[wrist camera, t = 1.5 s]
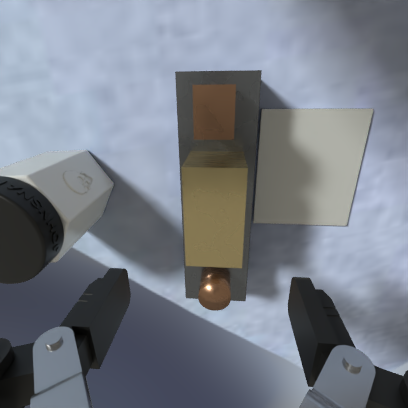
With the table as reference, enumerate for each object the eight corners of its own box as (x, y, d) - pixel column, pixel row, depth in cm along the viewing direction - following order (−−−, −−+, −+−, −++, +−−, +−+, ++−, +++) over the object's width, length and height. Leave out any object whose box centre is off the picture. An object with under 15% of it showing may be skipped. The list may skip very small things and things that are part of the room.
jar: (129, 198, 30) (72, 260, 19) (79, 230, 32) (3, 303, 21) (74, 130, 27) (-28, 157, 16) (24, 170, 30) (-95, 218, 19)
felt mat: (261, 109, 25) (261, 109, 25) (371, 108, 24) (373, 108, 24) (253, 221, 30) (253, 223, 30) (344, 224, 29) (346, 225, 29)
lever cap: (190, 151, 22) (181, 167, 18) (243, 151, 22) (247, 168, 17) (193, 234, 25) (185, 265, 21) (239, 235, 25) (242, 268, 21)
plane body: (185, 74, 24) (155, 65, 14) (255, 74, 24) (274, 63, 14) (191, 269, 33) (176, 347, 23) (242, 271, 33) (249, 352, 23)
